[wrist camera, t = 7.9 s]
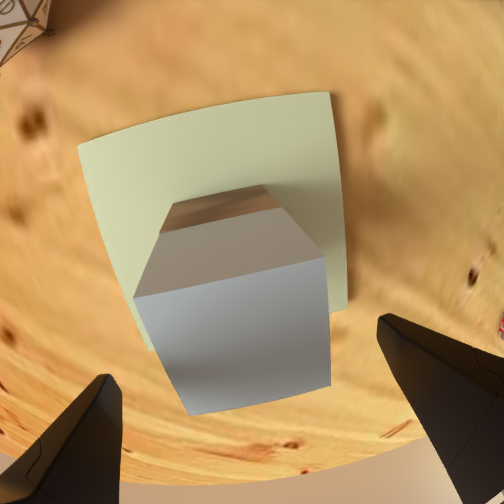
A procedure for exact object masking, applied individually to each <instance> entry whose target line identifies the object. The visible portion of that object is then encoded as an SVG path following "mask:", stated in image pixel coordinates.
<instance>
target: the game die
mask: <svg viewBox="0 0 504 504" xmlns="http://www.w3.org/2000/svg"><path fill="white" fill-rule="evenodd" d="M51 3H52V0H0V67H1V66H2V65H3V64H4V63H6V62H7V61H8V60H9V59H10V58H12V57H13V56H14V55H15V54H16V53H18V52H19V51H20V50H21V49H23V48H24V47H25V46H27V45H28V44H29V43H31V42H32V41H33V40H35V39H36V38H37V37H39V36H40V35H42V34H43V33H45V34H46V35H48V36H51V35H55V34H54V32H53V29H52V30H51V29H47V25H48V19H49V13H50V8H51ZM0 76H1V75H0Z"/></svg>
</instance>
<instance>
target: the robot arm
mask: <svg viewBox="0 0 504 504" xmlns="http://www.w3.org/2000/svg"><path fill="white" fill-rule="evenodd" d="M377 341H378V343H379V345H380V348H381V350H382V352H383V354H384V356H385V358H386V361H387V363H388V365H389V367H390V370H391V372H392V374H393V376H394V378H395V380H396V381H397V383H398V385H399V386H400V388H401V390H402V391H403V393H404V395H405V397H406V398H407V400H408V402H409V403H410V405H411V407H412V409H413V410H414V412H415V414H416V416H417V417H418V419H419V421H420V423H421V424H422V426H423V428H424V430H425V432H426V433H427V435H428V437H429V439H430V441H431V442H432V444H433V446H434V448H435V450H436V451H437V454H438V455H439V457H440V459H441V461H442V463H443V464H444V467H445V468H446V469H447V470H446V471H447V473H448V475H449V476H450V479H451V480H452V483H453V485H454V487H455V489H456V490H457V493H458V494H459V496H460V499H461V501H462V503H463V504H485V503H487V502H488V501H489V500H491V499H492V498H493V497H495V496H496V495H497V494H498V493H500V492H502V494H503V495H504V358H502V357H499V356H496V355H493V354H490V353H488V352H485V351H482V350H480V349H478V348H475V347H474V348H473V347H472V346H470V345H467V344H465V343H463V342H460V341H458V340H455V339H453V338H450V337H448V336H445V335H443V334H440V333H438V332H435V331H433V330H431V329H428V328H426V327H423V326H421V325H418V324H416V323H413V322H411V321H408V320H406V319H404V318H401V317H399V316H396V315H394V314H391V313H387V314H384V315H381V316H380V317H379V318H378V323H377ZM122 434H123V424H122V392H121V389H120V388H119V386H118V384H117V383H116V381H115V380H114V378H113V377H112V375H111V374H100V375H98V376H97V377H96V378H95V379H94V380H93V381H92V382H91V383H90V384H89V385H88V386H87V387H86V388H85V389H84V390H83V391H82V393H81V394H80V395H79V396H78V397H77V398H76V399H75V400H74V401H73V402H72V403H71V404H70V405H69V406H68V407H67V408H66V409H65V410H64V411H63V412H62V414H61V415H60V416H59V417H58V418H57V419H56V420H55V421H54V422H53V423H52V424H51V425H50V426H49V427H48V428H47V429H46V431H45V432H44V433H43V434H42V435H41V436H40V438H38V439H37V440H36V441H35V442H34V443H33V444H32V445H31V447H30V448H29V449H28V450H27V451H26V452H25V453H24V454H23V455H22V456H20V457H19V458H18V459H17V460H16V461H15V462H14V463H13V464H12V465H11V466H10V467H8V468H7V469H6V470H5V471H4V472H3V473H2V474H1V475H0V504H119V482H120V462H121V448H122ZM500 504H504V501H503V502H502V503H500Z"/></svg>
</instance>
